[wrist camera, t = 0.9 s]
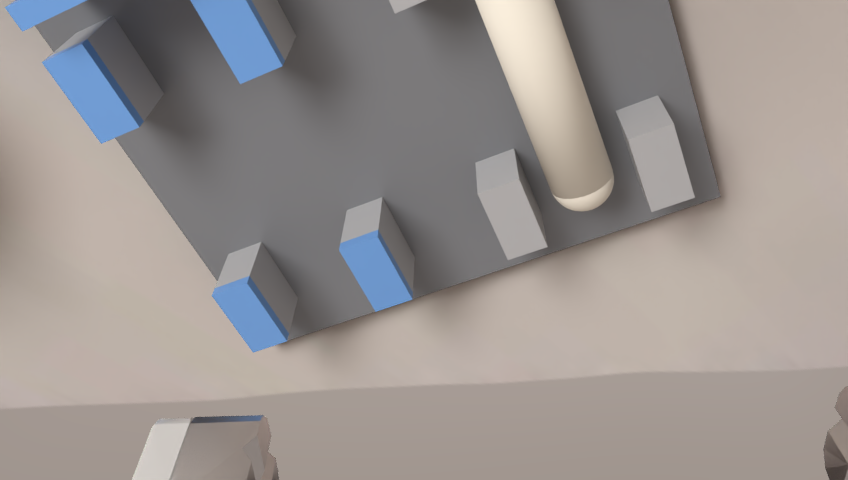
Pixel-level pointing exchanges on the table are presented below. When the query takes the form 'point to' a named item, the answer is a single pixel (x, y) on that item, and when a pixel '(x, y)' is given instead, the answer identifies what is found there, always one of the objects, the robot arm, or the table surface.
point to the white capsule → (550, 99)
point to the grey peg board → (365, 139)
